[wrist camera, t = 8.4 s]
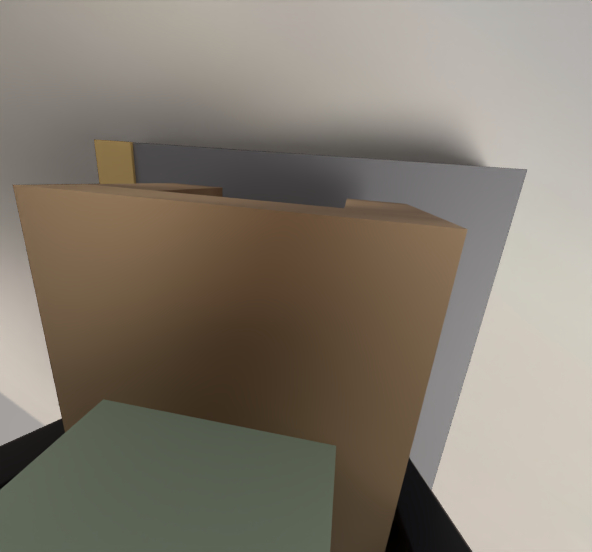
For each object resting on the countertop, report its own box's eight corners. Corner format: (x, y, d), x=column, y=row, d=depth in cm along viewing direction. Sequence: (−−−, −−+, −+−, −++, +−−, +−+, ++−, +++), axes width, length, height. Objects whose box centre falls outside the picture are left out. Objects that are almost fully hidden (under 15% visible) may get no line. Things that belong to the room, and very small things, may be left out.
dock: (491, 172, 9) (530, 169, 7) (405, 495, 14) (415, 548, 12) (140, 147, 11) (94, 139, 9) (163, 442, 15) (136, 481, 13)
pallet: (406, 203, 7) (467, 229, 3) (342, 541, 11) (338, 732, 7) (172, 183, 8) (13, 184, 4) (188, 503, 12) (111, 655, 8)
